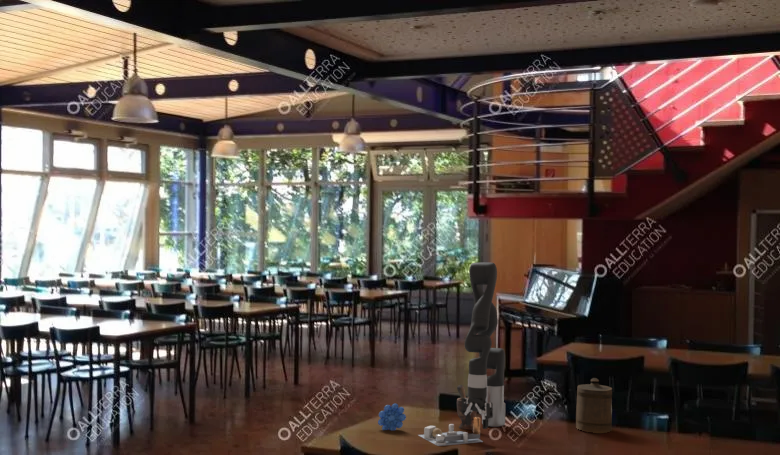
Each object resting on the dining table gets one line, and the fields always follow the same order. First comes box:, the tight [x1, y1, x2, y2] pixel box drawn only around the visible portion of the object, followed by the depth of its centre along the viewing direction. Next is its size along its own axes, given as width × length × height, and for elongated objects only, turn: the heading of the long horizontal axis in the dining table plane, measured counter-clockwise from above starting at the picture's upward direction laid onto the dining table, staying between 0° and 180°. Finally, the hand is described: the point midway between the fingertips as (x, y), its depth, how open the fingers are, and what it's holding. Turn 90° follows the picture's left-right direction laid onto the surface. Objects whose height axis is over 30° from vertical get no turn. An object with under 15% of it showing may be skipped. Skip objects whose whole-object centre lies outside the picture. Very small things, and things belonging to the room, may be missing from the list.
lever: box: [436, 416, 481, 442], centre depth 308 cm, size 19×4×8 cm, turn 114°
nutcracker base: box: [417, 423, 484, 447], centre depth 313 cm, size 20×18×6 cm
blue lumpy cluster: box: [377, 403, 407, 431], centre depth 327 cm, size 12×7×12 cm, turn 81°
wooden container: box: [575, 377, 613, 434], centre depth 339 cm, size 15×15×22 cm
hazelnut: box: [432, 427, 443, 438], centre depth 313 cm, size 4×4×4 cm
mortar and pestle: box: [456, 384, 478, 432], centre depth 331 cm, size 12×9×20 cm
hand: (476, 426), depth 311 cm, fingers open, 8 cm apart
